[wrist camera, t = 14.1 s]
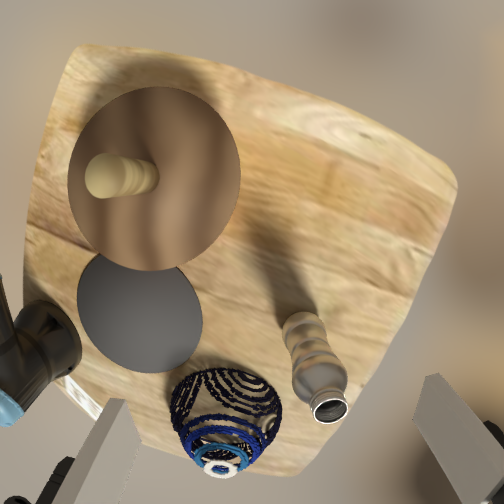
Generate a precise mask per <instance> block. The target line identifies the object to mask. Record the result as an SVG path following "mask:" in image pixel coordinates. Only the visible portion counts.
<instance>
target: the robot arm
mask: <svg viewBox="0 0 504 504" xmlns="http://www.w3.org/2000/svg"><path fill="white" fill-rule="evenodd" d="M81 358H82V345H81V341H80V338H79V335H78V333H77V331H76V329H75V327H74V325H73V324H72V322H71V321H70V319H69V318H68V317H67V316H66V315H65V314H64V313H63V312H62V311H61V310H60V309H59V308H58V307H56V306H55V305H53V304H51V303H49V302H46V301H42V300H37V301H33V302H31V303H29V304H28V305H26V306H25V307H24V308H23V309H22V310H21V311H20V312H19V315H18V316H17V318H16V319H15V321H14V322H13V320H12V317H11V314H10V310H9V307H8V303H7V299H6V296H5V292H4V288H3V284H2V275H1V274H0V426H2V427H9V426H12V425H13V424H14V423H15V422H16V421H17V420H18V419H19V418H20V417H22V416H23V415H24V412H26V410H27V409H28V408H29V407H30V405H31V404H32V403H33V402H34V401H35V399H36V398H37V397H38V396H39V395H40V393H41V392H42V391H43V390H44V389H45V388H46V386H47V385H48V384H49V383H50V382H52V381H54V380H56V379H59V378H61V377H64V376H66V375H68V374H70V373H71V372H72V371H73V370H74V369H75V368H76V367H77V366H78V365H79V363H80V361H81ZM412 420H413V421H414V423H415V424H416V426H417V428H418V429H419V431H420V432H421V434H422V436H423V437H424V439H425V440H426V442H427V444H428V446H429V447H430V449H431V450H432V452H433V454H434V455H435V457H436V459H437V460H438V462H439V464H440V465H441V467H442V469H443V471H444V472H445V474H446V476H447V477H448V479H449V481H450V482H451V484H452V486H453V488H454V490H455V491H456V493H457V495H458V497H459V499H460V500H461V502H462V504H487V503H488V502H489V501H490V500H491V501H492V502H493V504H504V434H503V432H502V431H501V429H500V428H499V427H498V426H497V425H495V424H494V423H492V422H490V421H486V422H484V423H482V422H481V421H480V419H479V418H478V417H477V416H476V415H475V414H474V412H473V411H472V410H471V409H470V408H469V406H468V405H467V404H466V403H465V402H464V401H463V400H462V398H461V397H460V396H459V395H458V394H457V393H456V392H455V390H454V389H453V388H452V387H451V386H450V385H449V384H448V382H447V381H446V380H445V379H444V378H443V377H442V376H441V375H440V374H439V373H436V374H433V375H429V376H426V377H425V381H424V384H423V388H422V391H421V395H420V398H419V401H418V404H417V407H416V410H415V413H414V417H413V419H412ZM141 442H142V440H141V438H140V436H139V433H138V431H137V428H136V426H135V423H134V421H133V418H132V416H131V413H130V410H129V408H128V405H127V402H126V400H125V399H117V398H110V399H109V401H108V402H107V404H106V406H105V408H104V409H103V411H102V413H101V414H100V416H99V418H98V420H97V421H96V423H95V425H94V427H93V428H92V430H91V432H90V434H89V435H88V437H87V439H86V441H85V443H84V444H83V446H82V448H81V450H80V451H79V453H78V455H77V457H76V459H75V458H72V457H68V456H67V457H65V458H64V459H63V460H62V461H60V462H59V463H58V465H57V466H56V468H55V470H54V471H53V474H52V475H51V477H50V478H49V481H48V482H47V484H46V486H45V487H44V489H43V491H42V493H41V494H40V496H39V498H38V500H37V502H36V504H119V502H120V499H121V496H122V494H123V491H124V488H125V485H126V482H127V480H128V477H129V474H130V471H131V469H132V466H133V463H134V460H135V458H136V455H137V452H138V449H139V447H140V444H141ZM4 504H31V503H30V502H29V501H28V500H27V499H26V498H24V497H21V496H12V497H9V498H8V499H7V500H6V501H5V502H4Z"/></svg>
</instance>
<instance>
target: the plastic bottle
mask: <svg viewBox="0 0 504 504" xmlns="http://www.w3.org/2000/svg"><path fill="white" fill-rule="evenodd" d="M282 338H283V342H284V344H285V346H286V347H287V349H288V350H289V353H290V355H291V359H292V386H293V390H294V392H295V394H296V395H297V396H298V397H299V399H300V400H301V401H303V402H304V403H306V404H308V405H309V406H310V409H311V411H312V413H313V416H314V418H315V420H316V421H318V422H320V423H323V424H330V423H335V422H337V421H339V420H341V419H342V418H343V417H344V416H345V415H346V413H347V411H348V404H347V402H346V397H345V395H344V392H345V389H346V387H347V382H348V376H347V371H346V368H345V367H344V365H343V364H342V362H341V361H340V360H339V359H338V358H337V356H336V355H335V354H334V353H333V351H332V349H331V348H330V346H329V344H328V340H327V334H326V329H325V326H324V323H323V322H322V321H321V320H320V319H319V318H318V317H317V316H316V315H315V314H313V313H310V312H305V311H304V312H297V313H295V314H293V315H291V316H290V317H289V318H288V319H287V320H286V321H285V323H284V325H283V330H282Z"/></svg>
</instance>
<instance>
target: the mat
mask: <svg viewBox="0 0 504 504" xmlns="http://www.w3.org/2000/svg"><path fill="white" fill-rule="evenodd" d="M77 307H78V313H79V317H80V320H81V323H82V325H83V328H84V330H85V332H86V333H87V335H88V337H89V338H90V340H91V341H92V343H93V344H94V345H95V346H96V347H97V349H98V350H99V351H100V352H101V353H103V354H104V355H105V356H106V357H107V358H109V359H110V360H111V361H113V362H115V363H116V364H118V365H120V366H122V367H124V368H127V369H130V370H132V371H137V372H141V373H160V372H165V371H169V370H172V369H174V368H176V367H178V366H180V365H181V364H183V363H184V362H185V361H186V360H187V359H189V357H190V356H191V355H192V354H193V352H194V351H195V349H196V347H197V345H198V343H199V340H200V337H201V333H202V324H203V321H202V311H201V306H200V303H199V300H198V297H197V295H196V293H195V291H194V289H193V287H192V285H191V284H190V282H189V281H188V279H187V278H186V277H185V276H184V274H183V273H182V272H181V271H180V270H179V269H178V268H177V267H174V268H169V269H165V270H157V271H142V270H136V269H131V268H127V267H124V266H121V265H119V264H117V263H115V262H113V261H111V260H109V259H107V258H106V257H105V256H103V255H100V256H98V257H97V258H96V259H94V260H93V261H92V262H91V263H90V264H89V265H88V267H87V268H86V270H85V271H84V273H83V275H82V277H81V279H80V282H79V286H78V291H77Z"/></svg>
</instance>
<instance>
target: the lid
mask: <svg viewBox="0 0 504 504" xmlns="http://www.w3.org/2000/svg"><path fill="white" fill-rule="evenodd" d="M240 177H241V170H240V159H239V155H238V151H237V147H236V144H235V141H234V139H233V136H232V134H231V132H230V130H229V128H228V127H227V125H226V123H225V122H224V120H223V119H222V118H221V117H220V115H219V114H218V113H217V112H216V111H215V110H214V109H213V108H212V107H211V106H210V105H209V104H207V103H206V102H204V101H203V100H202V99H200V98H198V97H196V96H194V95H193V94H191V93H188V92H185V91H182V90H179V89H174V88H169V87H148V88H142V89H138V90H134V91H131V92H128V93H126V94H123V95H121V96H119V97H118V98H116V99H114V100H112V101H111V102H109V103H108V104H107V105H105V106H104V107H103V108H102V109H100V110H99V111H98V112H97V113H96V114H95V115H94V116H93V117H92V119H91V120H90V121H89V122H88V123H87V125H86V126H85V128H84V129H83V131H82V132H81V134H80V136H79V138H78V140H77V142H76V144H75V147H74V149H73V152H72V155H71V159H70V163H69V170H68V196H69V202H70V206H71V210H72V213H73V216H74V219H75V221H76V223H77V225H78V227H79V229H80V231H81V232H82V234H83V235H84V237H85V238H86V239H87V241H88V242H89V243H90V244H91V245H92V246H93V247H94V248H95V249H96V250H97V251H98V252H99V253H100V254H102V255H103V256H105V257H106V258H107V259H109V260H111V261H113V262H115V263H117V264H119V265H121V266H124V267H127V268H131V269H136V270H142V271H157V270H165V269H169V268H174V267H176V266H179V265H182V264H184V263H186V262H188V261H190V260H192V259H194V258H195V257H197V256H198V255H200V254H201V253H202V252H204V251H205V250H206V249H207V248H208V247H209V246H210V245H211V244H212V243H213V242H214V241H215V240H216V239H217V238H218V236H219V235H220V234H221V233H222V231H223V230H224V228H225V226H226V225H227V223H228V222H229V220H230V217H231V215H232V213H233V211H234V208H235V205H236V202H237V199H238V194H239V189H240Z"/></svg>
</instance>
